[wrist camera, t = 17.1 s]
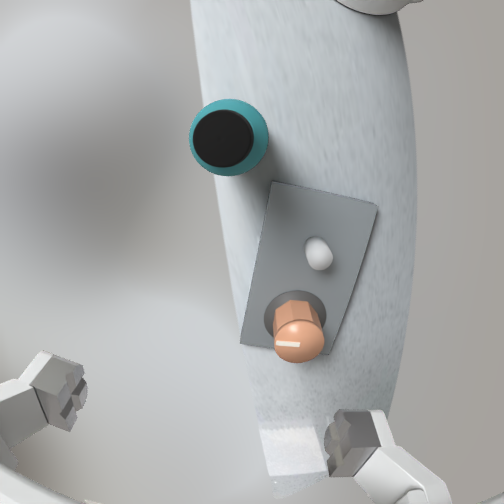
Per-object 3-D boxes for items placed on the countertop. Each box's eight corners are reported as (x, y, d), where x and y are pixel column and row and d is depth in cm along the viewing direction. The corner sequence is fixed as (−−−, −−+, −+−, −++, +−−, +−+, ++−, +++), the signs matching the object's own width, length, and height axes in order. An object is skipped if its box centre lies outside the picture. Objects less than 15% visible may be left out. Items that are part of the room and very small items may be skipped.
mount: (271, 180, 40) (274, 188, 34) (373, 202, 41) (389, 214, 35) (240, 335, 49) (238, 360, 43) (326, 347, 49) (333, 371, 44)
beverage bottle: (277, 137, 38) (295, 141, 19) (237, 171, 40) (219, 208, 21) (241, 99, 36) (226, 68, 18) (202, 134, 38) (152, 138, 19)
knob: (321, 301, 44) (329, 326, 38) (312, 338, 46) (318, 365, 40) (276, 297, 44) (278, 322, 38) (269, 334, 46) (270, 362, 40)
